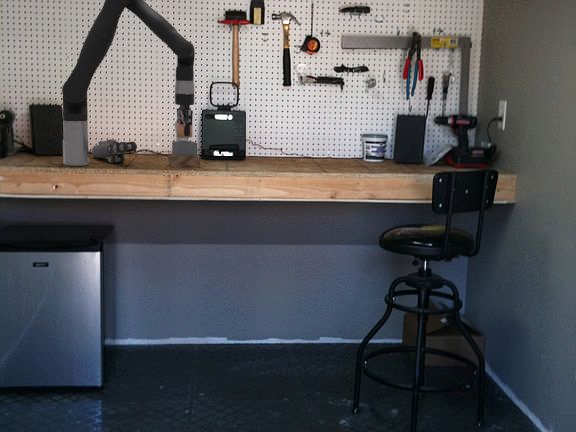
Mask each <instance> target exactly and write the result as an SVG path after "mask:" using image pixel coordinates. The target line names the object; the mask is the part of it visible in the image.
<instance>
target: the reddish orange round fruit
mask: <svg viewBox="0 0 576 432" xmlns="http://www.w3.org/2000/svg"><path fill="white" fill-rule="evenodd" d="M177 137H180V138H189V139H190V138H193V124H192V125H191V127H190V136H184V124H177Z"/></svg>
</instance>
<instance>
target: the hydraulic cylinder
mask: <svg viewBox="0 0 576 432" xmlns="http://www.w3.org/2000/svg"><path fill="white" fill-rule="evenodd" d="M137 149H138V144H137V143H136V142H135V141H121V142H119V141H118V140H117V139H112V138H111V139H106V140H100V141H98V144H95V145H93V146H92V148H91V154H92V156H93V157H94V158H95V159H105V158H107V160H108V163H110V164H115V163H117V162H118V163H119V164H124V162H125V161H126V157H125V153H126V154H127V153H135V152H136V151H137Z"/></svg>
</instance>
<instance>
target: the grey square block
mask: <svg viewBox="0 0 576 432" xmlns="http://www.w3.org/2000/svg"><path fill="white" fill-rule="evenodd" d="M171 144H172V145H171V149H172V150H171V151H172V152H171V153H172V154H174V155H176V156H197V155H198V142H196V141H193V140H189V141H176V140H172V141H171Z"/></svg>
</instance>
